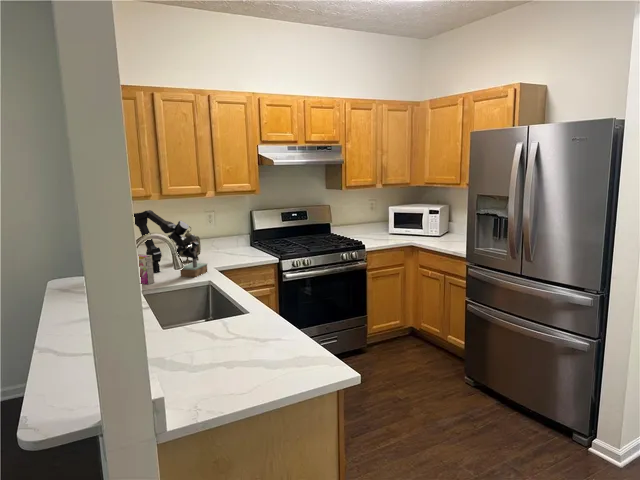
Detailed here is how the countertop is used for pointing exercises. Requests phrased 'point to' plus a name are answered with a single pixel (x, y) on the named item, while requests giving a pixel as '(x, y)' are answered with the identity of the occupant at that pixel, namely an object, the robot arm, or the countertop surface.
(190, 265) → the lid
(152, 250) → the robot arm
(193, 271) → the walnut box
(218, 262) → the countertop surface
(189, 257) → the tabletop clock
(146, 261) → the candy bar box
